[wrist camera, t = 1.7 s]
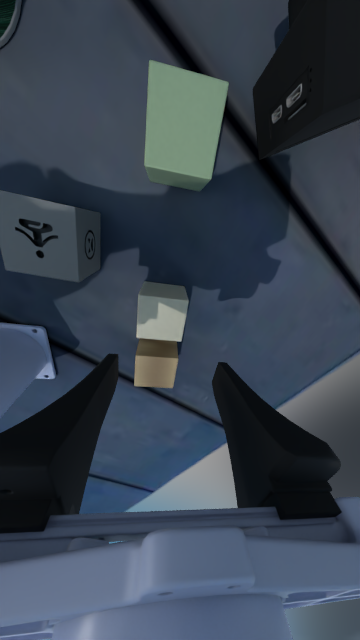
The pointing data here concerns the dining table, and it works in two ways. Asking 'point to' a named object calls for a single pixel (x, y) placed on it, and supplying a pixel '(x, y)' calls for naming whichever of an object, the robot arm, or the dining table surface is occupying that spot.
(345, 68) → the digital camera
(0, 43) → the canned tomato
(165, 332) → the cream block
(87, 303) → the dining table surface
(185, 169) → the sage block
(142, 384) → the maple block
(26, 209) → the dice cube
